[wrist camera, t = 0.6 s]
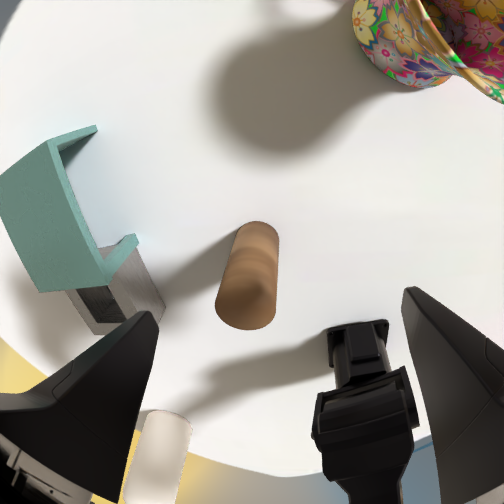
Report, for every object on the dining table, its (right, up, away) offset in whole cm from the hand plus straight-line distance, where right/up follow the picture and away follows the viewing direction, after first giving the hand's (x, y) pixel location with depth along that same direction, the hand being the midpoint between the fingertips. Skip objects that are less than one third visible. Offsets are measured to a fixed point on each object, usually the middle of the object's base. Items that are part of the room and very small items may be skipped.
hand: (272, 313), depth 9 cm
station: (-16, +4, +15) cm, 22 cm away
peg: (0, +3, +14) cm, 14 cm away
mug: (+10, +19, +3) cm, 21 cm away
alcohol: (-16, -29, +35) cm, 48 cm away
